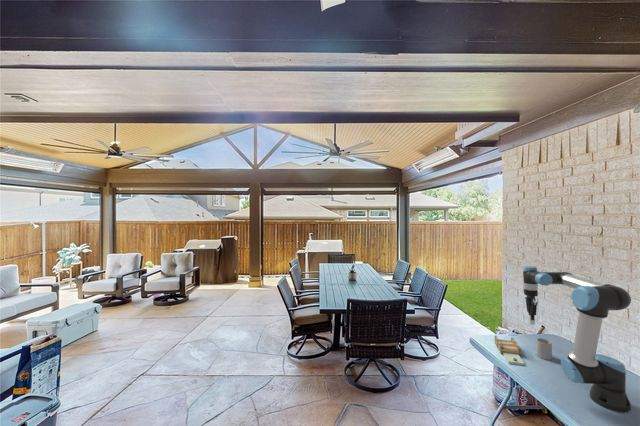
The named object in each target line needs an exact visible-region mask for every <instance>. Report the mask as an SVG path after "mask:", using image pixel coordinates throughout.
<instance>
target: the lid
mask: <svg viewBox="0 0 640 426" xmlns="http://www.w3.org/2000/svg"><path fill="white" fill-rule="evenodd" d="M502 355H503V356H504V358H505V360H506V362H507V363H508V365H509V364H510V365H516V366H517V365H518V366H523V367H525V365H526V364H525V362H524V360H523V359H522V358H521V357H520V356H519V355H518V354H512V353H504V352H503V354H502Z"/></svg>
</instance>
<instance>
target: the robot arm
mask: <svg viewBox="0 0 640 426" xmlns="http://www.w3.org/2000/svg"><path fill="white" fill-rule="evenodd" d="M522 270H523V271H522V274H523V275H522V277H523V283H522V284H523V294H524V295H525V296H526V297H524V298H525V299H524V300H525V305H526V311H527V313H528V323H529V324H528V325H531V326H535V325H536V321H535V320H536V318H535V316H537V310H538V309H537V307H538V302H537V300H536V297H538V296H539V292H538V286H539V285H542V286H550V285H562V286H566V287H568V288H571V289H573V290H572V292H571V296H570V300H571V303H572V305H573V306H574V307H575V310H576V311H577V312H578V318H577V324H576V329H575V334H574V335H575V336H574V342H573V346H572V347H573V348H572V350H569V351H568V353H567V357H563V358H561V359H560V366H561V369H562V371H563V373H564V375H565V376H566V378H567V379H568V380H570V381H571V382H572V383H574V384H576V383H577V384H592V385H591V387H590V389H589V397H590V399H591V400H592V401H593V402H594V403H596V404H597V405H600V406H601V407H602V408H605V409H608V410H611V411H615V412H617V413H618V412H619V413H629V412H631V410H632V404H631V402H630V399H629V397H628V395H627V393H626V390H627V387H626V376H627V375H626V374H627V371H626V366H625V365H624V363H623V362H621V361H620V360H618V359H616V358H614V357H612V356H607V355H605V354H599V353H597V350H598V346H599V345H598V344H599V339H600V333H601V328H602V323H603V320H604V319H607V318H608V316H609V311H621V310H625V309H627V308H628V307H629V306H630V305H631V302H632V297H631V295H630V293H629V292H628V291H627V290H625V289H624V288H622V287H619V286H616V285H613V284H611V283H605V284H603V283H600V282H596V281H593V280H591V279H586V278H583V277H580V276H576V275H574V274H573V273H572V272H569V271H558V272H557V271H538V268H537V267H536V266H532V265H525V266H523V268H522Z"/></svg>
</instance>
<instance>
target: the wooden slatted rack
mask: <svg viewBox="0 0 640 426" xmlns="http://www.w3.org/2000/svg"><path fill="white" fill-rule="evenodd" d="M510 338H511V339H510V340H507V339H499V337H498V336H497V335H494V345H495V344H496V345H495V347H496V348H497V350H498V352H499V351H500V352H499V353H500V354H501V355H503V352H504V353H512V354H518V355H519V356H520V358H521V356H522V354H521V353H522V351H521V350H522V349H521V348H522V347H520V345H519V343H518V342H517V341H516V340H515V338H514V337H510Z"/></svg>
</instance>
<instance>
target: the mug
mask: <svg viewBox="0 0 640 426" xmlns="http://www.w3.org/2000/svg"><path fill="white" fill-rule="evenodd" d="M535 345H536V347H535V348H536V349H535V351H536V353H535V354H536V356H537V357H538V358H539V359H542V360H545V361H551V360H552V359H553V342H552V341H551V340H549V339H547V338H541V337H540V338H536V340H535Z"/></svg>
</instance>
